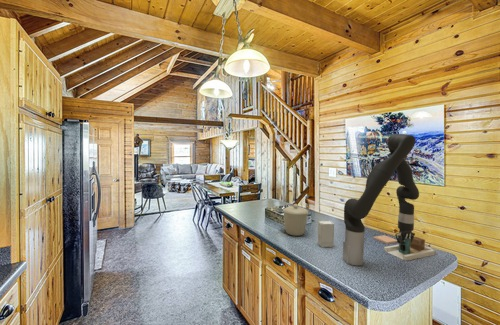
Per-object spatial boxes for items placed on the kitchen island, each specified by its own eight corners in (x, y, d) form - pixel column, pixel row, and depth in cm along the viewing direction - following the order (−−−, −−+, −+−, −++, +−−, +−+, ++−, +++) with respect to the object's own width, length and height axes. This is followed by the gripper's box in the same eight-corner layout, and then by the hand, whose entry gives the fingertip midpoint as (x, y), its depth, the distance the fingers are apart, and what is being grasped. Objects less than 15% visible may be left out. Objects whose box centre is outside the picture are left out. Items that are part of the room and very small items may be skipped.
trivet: (387, 244, 141) (387, 242, 141) (373, 238, 151) (373, 236, 151) (398, 242, 145) (398, 240, 145) (384, 236, 154) (384, 235, 154)
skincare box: (330, 243, 141) (331, 220, 140) (334, 247, 135) (335, 223, 134) (317, 243, 140) (318, 220, 140) (320, 247, 134) (321, 223, 134)
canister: (310, 238, 148) (311, 207, 147) (283, 237, 149) (284, 206, 148) (304, 229, 166) (305, 201, 165) (280, 228, 167) (281, 201, 166)
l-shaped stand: (410, 256, 123) (411, 240, 123) (395, 250, 132) (396, 235, 131) (429, 252, 129) (430, 237, 129) (413, 246, 138) (414, 232, 137)
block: (418, 250, 129) (419, 240, 128) (409, 247, 133) (410, 237, 133) (424, 249, 130) (424, 239, 130) (415, 246, 135) (416, 236, 135)
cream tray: (405, 261, 119) (406, 256, 119) (384, 251, 131) (384, 247, 131) (436, 254, 128) (436, 250, 128) (413, 245, 140) (413, 241, 140)
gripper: (404, 224, 121) (402, 254, 122) (420, 221, 126) (419, 251, 127) (391, 220, 128) (389, 249, 129) (407, 218, 133) (406, 246, 134)
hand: (404, 250), depth 128 cm, fingers closed on l-shaped stand, 2 cm apart
